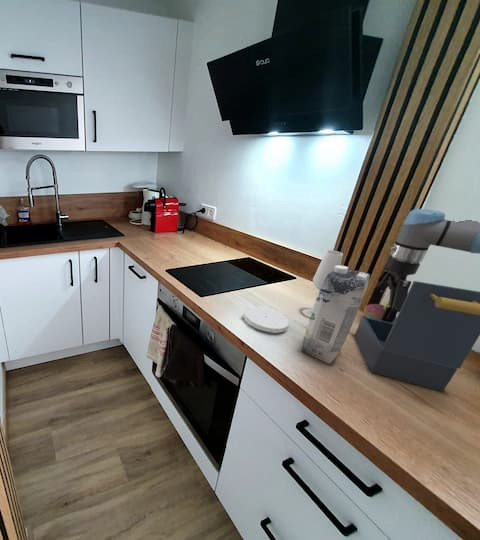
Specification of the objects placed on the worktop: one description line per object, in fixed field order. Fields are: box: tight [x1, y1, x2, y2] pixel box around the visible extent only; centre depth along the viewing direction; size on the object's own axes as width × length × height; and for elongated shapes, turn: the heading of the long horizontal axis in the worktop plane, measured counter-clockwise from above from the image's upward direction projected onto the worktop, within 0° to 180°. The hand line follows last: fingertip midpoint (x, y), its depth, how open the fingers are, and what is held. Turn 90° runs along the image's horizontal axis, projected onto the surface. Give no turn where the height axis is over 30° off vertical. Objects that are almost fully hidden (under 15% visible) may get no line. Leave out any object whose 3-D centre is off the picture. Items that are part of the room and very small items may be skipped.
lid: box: [382, 280, 480, 370], centre depth 66 cm, size 20×15×6 cm
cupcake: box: [363, 298, 397, 322], centre depth 97 cm, size 9×8×12 cm
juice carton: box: [301, 264, 371, 364], centre depth 79 cm, size 9×10×27 cm
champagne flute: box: [301, 249, 344, 319], centre depth 99 cm, size 7×7×24 cm
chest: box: [354, 316, 458, 392], centre depth 81 cm, size 19×15×7 cm
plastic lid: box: [243, 305, 290, 334], centre depth 97 cm, size 14×14×2 cm
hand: (377, 316), depth 98 cm, fingers open, 13 cm apart
